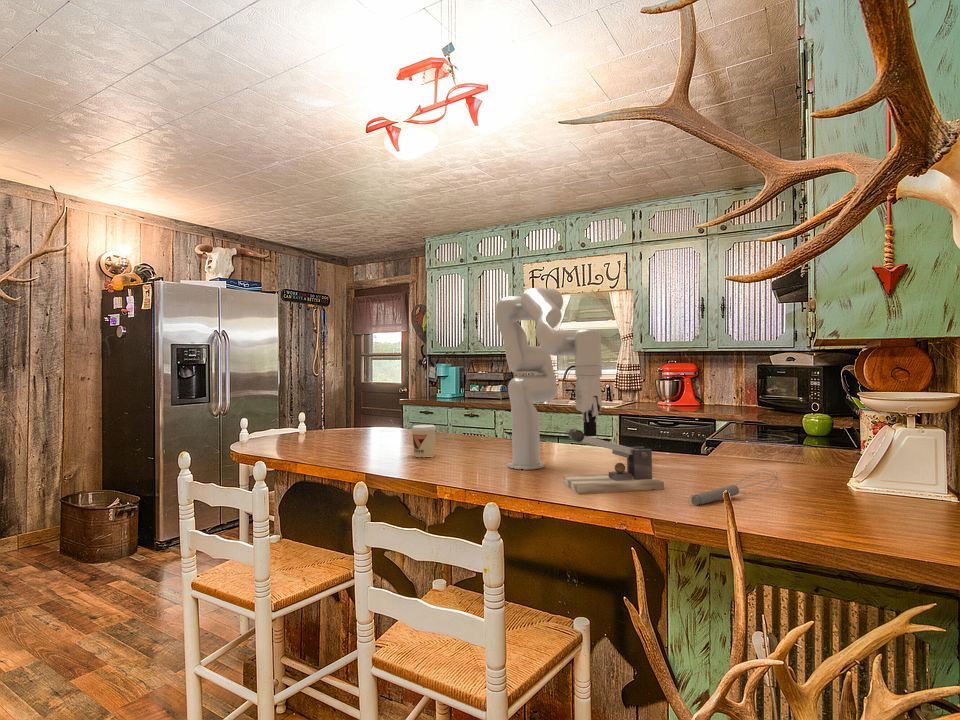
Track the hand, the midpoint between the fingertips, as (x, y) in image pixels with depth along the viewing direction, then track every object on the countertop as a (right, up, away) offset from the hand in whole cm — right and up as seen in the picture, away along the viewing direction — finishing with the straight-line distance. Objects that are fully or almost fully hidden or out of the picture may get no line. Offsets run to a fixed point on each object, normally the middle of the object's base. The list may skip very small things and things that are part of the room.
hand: (590, 435), depth 157 cm
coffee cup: (-54, -16, +57) cm, 80 cm away
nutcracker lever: (+5, -5, +1) cm, 7 cm away
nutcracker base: (+7, -15, +1) cm, 16 cm away
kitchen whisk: (+36, -15, -15) cm, 41 cm away
